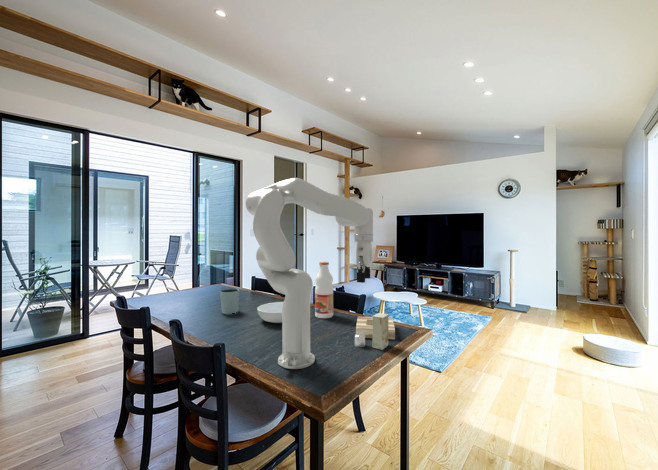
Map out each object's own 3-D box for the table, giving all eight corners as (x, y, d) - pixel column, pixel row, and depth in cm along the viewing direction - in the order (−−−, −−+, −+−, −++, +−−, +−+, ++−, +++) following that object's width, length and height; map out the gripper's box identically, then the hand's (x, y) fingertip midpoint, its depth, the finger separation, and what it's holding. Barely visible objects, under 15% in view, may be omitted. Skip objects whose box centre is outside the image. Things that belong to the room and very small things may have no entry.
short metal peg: (364, 347, 115) (364, 337, 115) (354, 347, 116) (354, 336, 116) (365, 343, 119) (365, 333, 119) (355, 343, 120) (355, 333, 119)
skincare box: (382, 350, 112) (382, 318, 112) (372, 348, 115) (372, 316, 114) (389, 344, 118) (389, 313, 117) (378, 342, 120) (378, 312, 120)
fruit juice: (336, 317, 153) (336, 262, 153) (319, 319, 150) (318, 263, 149) (328, 312, 162) (328, 260, 161) (312, 314, 158) (312, 261, 157)
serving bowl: (295, 312, 162) (295, 300, 162) (304, 324, 142) (304, 310, 142) (255, 316, 156) (255, 303, 155) (259, 329, 136) (259, 314, 136)
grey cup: (236, 314, 158) (235, 292, 158) (216, 314, 158) (216, 292, 158) (241, 309, 168) (241, 288, 168) (223, 309, 169) (223, 288, 168)
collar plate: (394, 339, 123) (395, 329, 123) (355, 337, 125) (355, 327, 125) (392, 326, 139) (392, 317, 139) (357, 325, 141) (357, 316, 141)
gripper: (368, 239, 113) (368, 284, 114) (376, 237, 129) (376, 277, 130) (349, 239, 116) (349, 283, 116) (359, 237, 132) (359, 276, 133)
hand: (363, 280), depth 123 cm, fingers open, 9 cm apart
